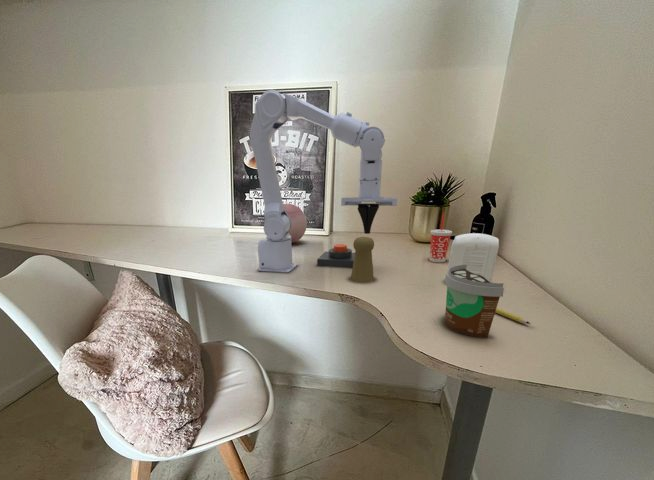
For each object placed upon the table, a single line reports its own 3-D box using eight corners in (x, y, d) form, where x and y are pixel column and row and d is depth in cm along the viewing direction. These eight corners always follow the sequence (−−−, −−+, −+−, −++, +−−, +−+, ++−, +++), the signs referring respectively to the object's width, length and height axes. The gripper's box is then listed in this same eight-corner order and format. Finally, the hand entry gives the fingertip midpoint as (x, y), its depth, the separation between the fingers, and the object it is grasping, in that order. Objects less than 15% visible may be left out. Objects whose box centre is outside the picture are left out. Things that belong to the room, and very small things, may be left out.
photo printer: (489, 282, 83) (499, 232, 78) (492, 288, 80) (503, 236, 75) (445, 279, 86) (452, 231, 81) (446, 285, 82) (453, 234, 77)
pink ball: (314, 243, 131) (314, 203, 125) (281, 249, 123) (279, 206, 117) (294, 238, 142) (292, 201, 136) (262, 242, 134) (259, 203, 128)
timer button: (332, 252, 101) (332, 246, 100) (335, 249, 104) (335, 244, 104) (345, 253, 100) (345, 247, 99) (347, 250, 103) (347, 244, 103)
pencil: (528, 326, 60) (529, 321, 60) (466, 301, 72) (467, 297, 72) (532, 325, 61) (533, 320, 60) (469, 300, 72) (470, 296, 72)
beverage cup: (426, 262, 102) (432, 214, 96) (427, 257, 107) (433, 212, 102) (447, 263, 100) (454, 215, 94) (448, 258, 105) (455, 212, 100)
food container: (427, 313, 67) (433, 265, 63) (456, 312, 67) (465, 263, 63) (457, 342, 56) (467, 286, 52) (492, 340, 56) (505, 284, 52)
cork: (373, 283, 85) (375, 240, 80) (349, 282, 86) (350, 239, 82) (374, 276, 90) (376, 235, 86) (351, 275, 91) (353, 235, 87)
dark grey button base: (317, 266, 101) (317, 253, 99) (325, 258, 110) (325, 245, 108) (356, 268, 98) (357, 254, 96) (361, 259, 106) (362, 247, 105)
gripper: (339, 181, 85) (338, 234, 91) (397, 180, 81) (393, 236, 87) (344, 180, 91) (343, 230, 97) (399, 179, 87) (394, 231, 93)
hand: (367, 233), depth 92 cm, fingers closed
